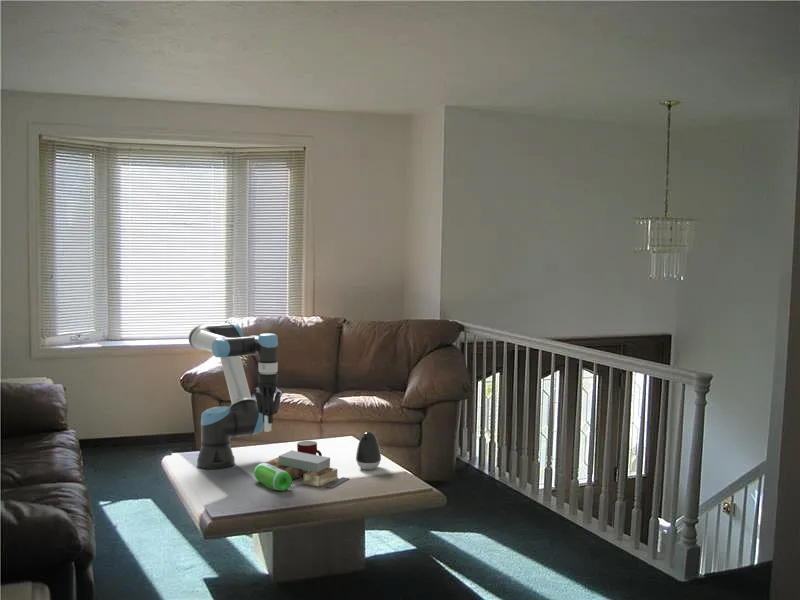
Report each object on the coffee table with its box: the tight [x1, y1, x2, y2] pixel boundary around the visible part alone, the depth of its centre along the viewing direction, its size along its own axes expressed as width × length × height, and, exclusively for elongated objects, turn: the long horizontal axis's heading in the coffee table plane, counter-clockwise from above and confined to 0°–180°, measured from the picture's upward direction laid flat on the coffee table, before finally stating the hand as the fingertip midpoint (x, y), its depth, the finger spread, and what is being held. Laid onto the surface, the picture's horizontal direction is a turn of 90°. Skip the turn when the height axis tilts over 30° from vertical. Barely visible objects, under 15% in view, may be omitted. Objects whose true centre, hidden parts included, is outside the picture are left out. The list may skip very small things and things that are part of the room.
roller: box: [308, 466, 332, 476], centre depth 285 cm, size 5×10×5 cm
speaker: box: [253, 462, 293, 492], centre depth 278 cm, size 18×7×8 cm, turn 40°
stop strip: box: [324, 476, 350, 489], centre depth 282 cm, size 3×13×1 cm, turn 154°
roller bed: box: [264, 456, 309, 481], centre depth 293 cm, size 17×10×5 cm, turn 64°
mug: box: [296, 440, 323, 456], centre depth 303 cm, size 10×8×10 cm
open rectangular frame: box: [302, 466, 338, 487], centre depth 285 cm, size 8×13×4 cm, turn 154°
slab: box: [278, 450, 331, 473], centre depth 288 cm, size 18×9×4 cm, turn 64°
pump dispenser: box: [355, 431, 382, 471], centre depth 301 cm, size 10×10×15 cm
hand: (267, 431), depth 295 cm, fingers closed
